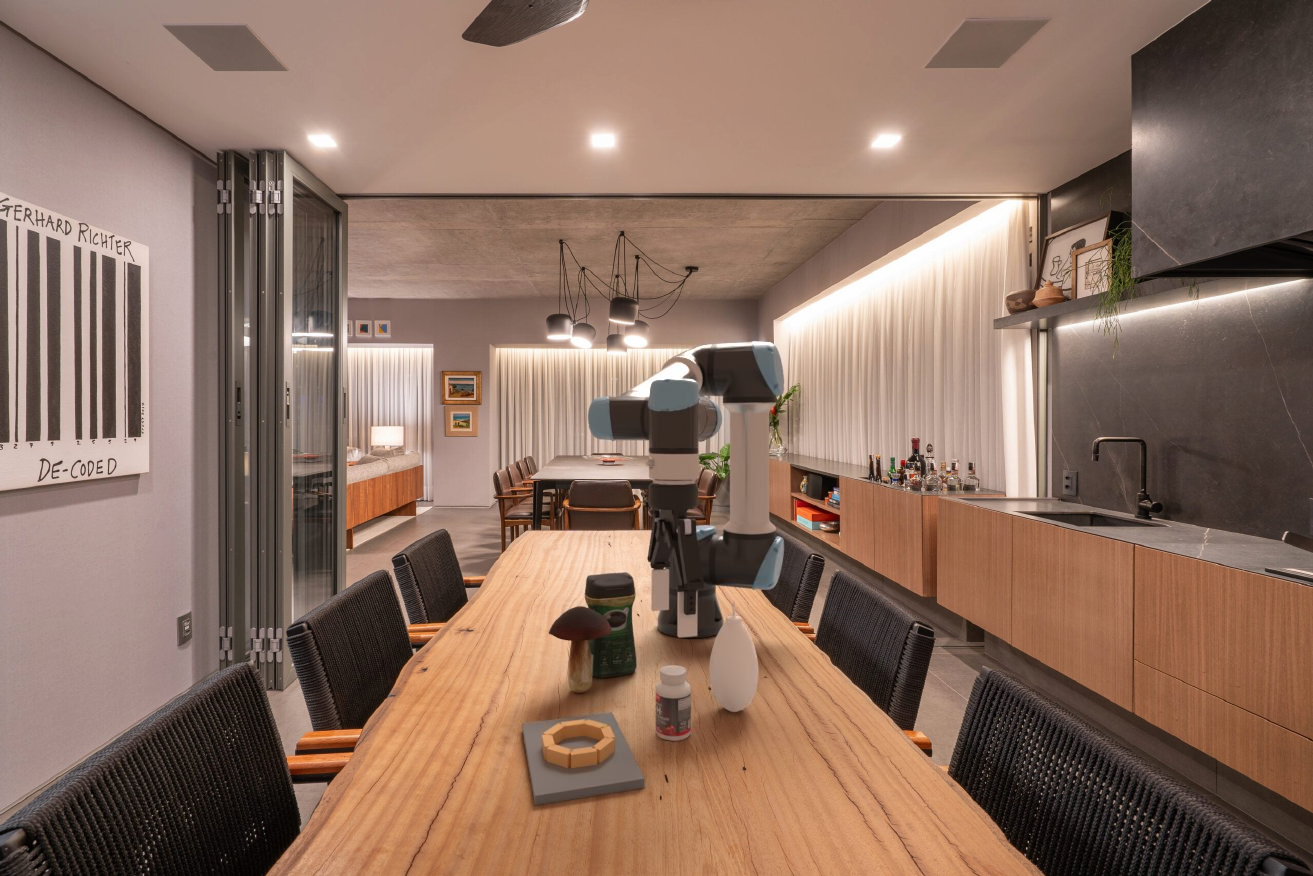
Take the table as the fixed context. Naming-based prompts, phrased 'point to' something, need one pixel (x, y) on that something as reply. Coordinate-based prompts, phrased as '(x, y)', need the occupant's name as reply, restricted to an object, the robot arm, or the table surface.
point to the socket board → (579, 758)
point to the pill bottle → (673, 704)
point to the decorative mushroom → (580, 642)
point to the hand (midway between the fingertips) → (672, 622)
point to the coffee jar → (612, 623)
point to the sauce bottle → (733, 665)
